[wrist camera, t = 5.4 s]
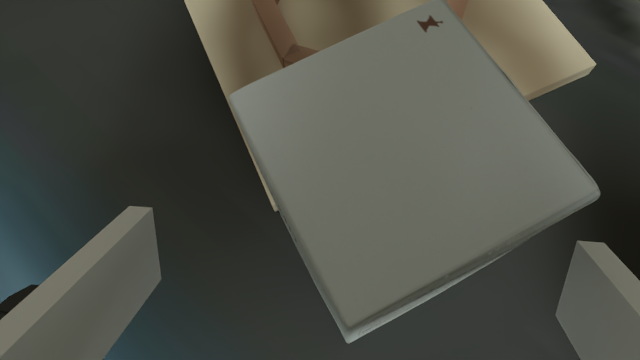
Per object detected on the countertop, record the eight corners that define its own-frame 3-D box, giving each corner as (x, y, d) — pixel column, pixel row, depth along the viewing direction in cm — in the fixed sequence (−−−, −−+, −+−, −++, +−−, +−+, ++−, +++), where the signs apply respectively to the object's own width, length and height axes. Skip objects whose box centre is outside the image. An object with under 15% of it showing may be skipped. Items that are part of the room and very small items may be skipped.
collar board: (421, -126, 34) (426, -157, 32) (587, 74, 26) (607, 50, 24) (169, -34, 31) (157, -61, 29) (275, 211, 24) (268, 198, 22)
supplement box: (280, 218, 24) (217, 84, 12) (400, 159, 25) (446, -17, 13) (344, 349, 21) (341, 336, 10) (475, 278, 22) (616, 188, 11)
